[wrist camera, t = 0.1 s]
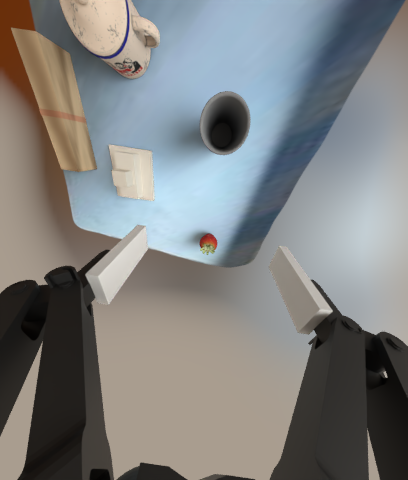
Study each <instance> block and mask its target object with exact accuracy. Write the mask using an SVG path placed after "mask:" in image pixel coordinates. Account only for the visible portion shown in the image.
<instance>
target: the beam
mask: <svg viewBox="0 0 408 480" xmlns="http://www.w3.org/2000/svg"><path fill="white" fill-rule="evenodd" d="M11 30H12V32H13V35H14V38H15V40H16V44H17V46H18V49H19V52H20V55H21V58H22V60H23V63H24V66H25V69H26V72H27V74H28V77H29V80H30V83H31V86H32V88H33V91H34V94H35V97H36V100H37V102H38V105H39V110H40V113H41V115H42V116H43V119H44V122H45V125H46V128H47V130H48V133H49V136H50V139H51V141H52V144H53V147H54V150H55V153H56V155H57V158H58V161H59V164H60V166H61V169H64V170H70V171H77V172H81V171H87V170H94V169H97V166H96V162H95V158H94V153H93V149H92V145H91V141H90V137H89V132H88V128H87V124H86V119H85V116H84V111H83V107H82V103H81V99H80V95H79V90H78V86H77V82H76V78H75V74H74V70H73V65H72V61H71V57H70V53H68V52H67V51H65V50H64V49H62V48H61V47H59V46H57V45H56V44H54V43H53V42H51V41H50V40H48V39H47V38H45V37H44V36H42V35H41V34H39V33H38V32H36V31H29V30H23V29H16V28H11Z"/></svg>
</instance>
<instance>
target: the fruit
mask: <svg viewBox="0 0 408 480" xmlns="http://www.w3.org/2000/svg"><path fill="white" fill-rule="evenodd" d="M200 247H201V249H200V251H202V250H203V254H204V253H205V251H207V255H208V251H210V252H211V253H212V254H213V252H215V251H214V250H215V249H216V247H217V240H216V238H215V237H214V236H213V235H212V234H206V235H205V236H203V237H202V238H201V240H200Z"/></svg>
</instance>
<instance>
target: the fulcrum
mask: <svg viewBox="0 0 408 480" xmlns="http://www.w3.org/2000/svg"><path fill="white" fill-rule="evenodd" d="M109 150H110V155H111V161H112V166H113V170H111V171H112V176H113V181H114V186H116V188H117V193H118V196H122V197H128V198H135V199H144V200H150V201H154V200H155V195H154V176H153V157H152V151H149V150H143V149H136V148H129V147H123V146H116V145H109Z"/></svg>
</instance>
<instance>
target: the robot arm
mask: <svg viewBox="0 0 408 480" xmlns="http://www.w3.org/2000/svg"><path fill="white" fill-rule="evenodd" d="M147 249H148V245H147V235H146V226H142V225H137V226H136V227H135V228H134V229H133V230H132V231H131V232H130V233H129V234H128V235H127V236H125V237H124V238H123V239H122V240H121V241H120V242H119V243H118V244H117V245H116V246H115V247H114V248H113V249H112V250H105V251H103V252H101V253H99V254H98V255H97V256H96V257H95V258H94V259H92V260H91V261H90V262H89V263H88V264H87V265H85V266H84V267H83V268H82V269H81V270H80V271H79V272H76V269H75V268H74V267H72V266H63V267H59V268H56V269H54V270H52V271H50V272H49V273H48V274H46V276H45V277H44V279H45V281H46V282H47V284H48V285H39V286H38V284H37V283H36V281H33V280H25V281H20V282H17V283H15V284H12V285H11V286H9V287H7V288H6V289H5V290H4V291H2V292H1V294H0V436H1V433H2V431H3V429H4V427H5V424H6V422H7V420H8V417H9V415H10V413H11V411H12V409H13V406H14V404H15V402H16V399H17V397H18V395H19V393H20V391H21V388H22V386H23V384H24V382H25V379H26V377H27V375H28V373H29V370H30V368H31V366H32V364H33V361H34V359H35V357H36V355H37V352H38V350H39V348H40V346H41V343H42V341H43V345H42V352H41V358H40V366H39V372H38V379H37V387H36V394H35V400H34V407H33V414H32V421H31V427H30V434H29V442H28V448H27V455H26V461H25V466H24V469H23V471H22V474H21V475H20V477H19V478H18V480H114V477H113V468H112V459H111V452H110V447H109V443H108V440H107V436H106V430H105V422H104V412H103V403H102V393H101V383H100V374H99V365H98V355H97V345H96V336H95V326H94V317H93V308H92V304H91V302H92V301H93V300H94V298H96V301H97V303H100V304H107V305H109V303H110V302H111V300H112V299H113V297H114V296H115V295H116V293H117V292H118V291H119V289H120V288H121V286H122V285H123V283H124V282H125V281H126V279H127V278H128V276H129V275H130V274H131V272H132V271H133V269H134V268H135V266H136V265H137V264H138V262H139V260H140V259H141V258H142V257H143V255H144V254H145V252H146V251H147ZM269 268H270V271H271V273H272V275H273V278H274V280H275V282H276V284H277V286H278V289H279V291H280V293H281V295H282V298H283V300H284V302H285V305H286V307H287V309H288V311H289V313H290V316H291V318H292V320H293V323H294V325H295V327H296V329H297V332H298V333H303V334H310V333H311V332H312V331H313V330H314V331H315V333H316V334H317V335H316V336H315V337H314V338H313V339H312V340H311V341H310V342H309V343H308V344H312V343H313V344H312V348H311V351H310V355H309V359H308V362H307V366H306V370H305V373H304V377H303V380H302V384H301V388H300V391H299V395H298V398H297V402H296V406H295V409H294V413H293V416H292V420H291V424H290V427H289V431H288V435H287V438H286V442H285V446H284V449H283V453H282V456H281V459H280V461H279V463H278V464H277V466H276V467H275V468H274V470H273V473H272V475H271V478H270V480H369V473H368V438H367V428H368V432H369V436H370V440H371V444H372V448H373V452H374V456H375V461H376V465H377V468H378V472H379V477H380V480H408V346H407V345H406V344H405V343H403V341H401V340H400V339H399V338H397V337H395V336H393V335H392V334H389V333H387V332H380V333H378V334H377V335H374V334H371V333H369V332H367V331H364V330H362V328H361V327H360V326H359V325H358V324H357V323H356V322H355V321H353V320H352V319H350V318H348V317H346V316H342V314H341V313H340V312H339V310H338V309H337V308H336V306H335V305H334V304H333V302H332V301H331V300H330V299H329V297H327V295H326V293H325V292H324V291H323V289H322V288H321V287H320V285H318V284H317V283H316V282H315V281H314V280H310V279H309V277H308V276H307V274H306V273H305V272H304V270H303V269H302V267H301V266H300V265H299V263H298V262H297V261H296V260H295V258H294V256H293V255H292V254H291V252H290V251H289V249H288V248H287V247H283V246H279V247H278V249H277V251H276V253H275V255H274V257H273V259H272V261H271V263H270V266H269ZM384 371H386V373H387V376H388V378H386V377H385V375H384V373H383V372H384ZM117 480H187V479H185V478H184V477H182V476H181V475H180V474H178V473H177V472H175V471H174V470H173V469H171V468H170V467H168V466H161V465H154V464H147V463H140V466H138V467H135V468H133V469H131V470H129V471H128V472H126V473H124V474H123V475H122V476H120V477H119V478H118V479H117ZM200 480H255V479H249V478H242V477H235V476H229V475H218V474H214V475H211V476H209V477H206V478H203V479H200Z"/></svg>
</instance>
